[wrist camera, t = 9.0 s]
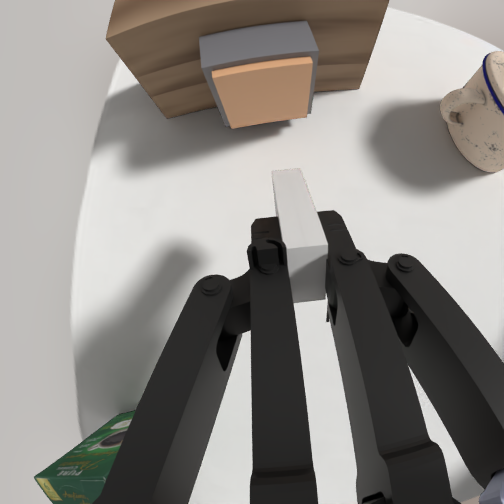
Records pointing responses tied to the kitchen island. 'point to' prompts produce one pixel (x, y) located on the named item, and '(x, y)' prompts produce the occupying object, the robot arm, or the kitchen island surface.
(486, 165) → the teacup with lid
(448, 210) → the kitchen island surface
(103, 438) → the coffee box
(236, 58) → the gray housing block
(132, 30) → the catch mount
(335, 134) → the kitchen island surface
